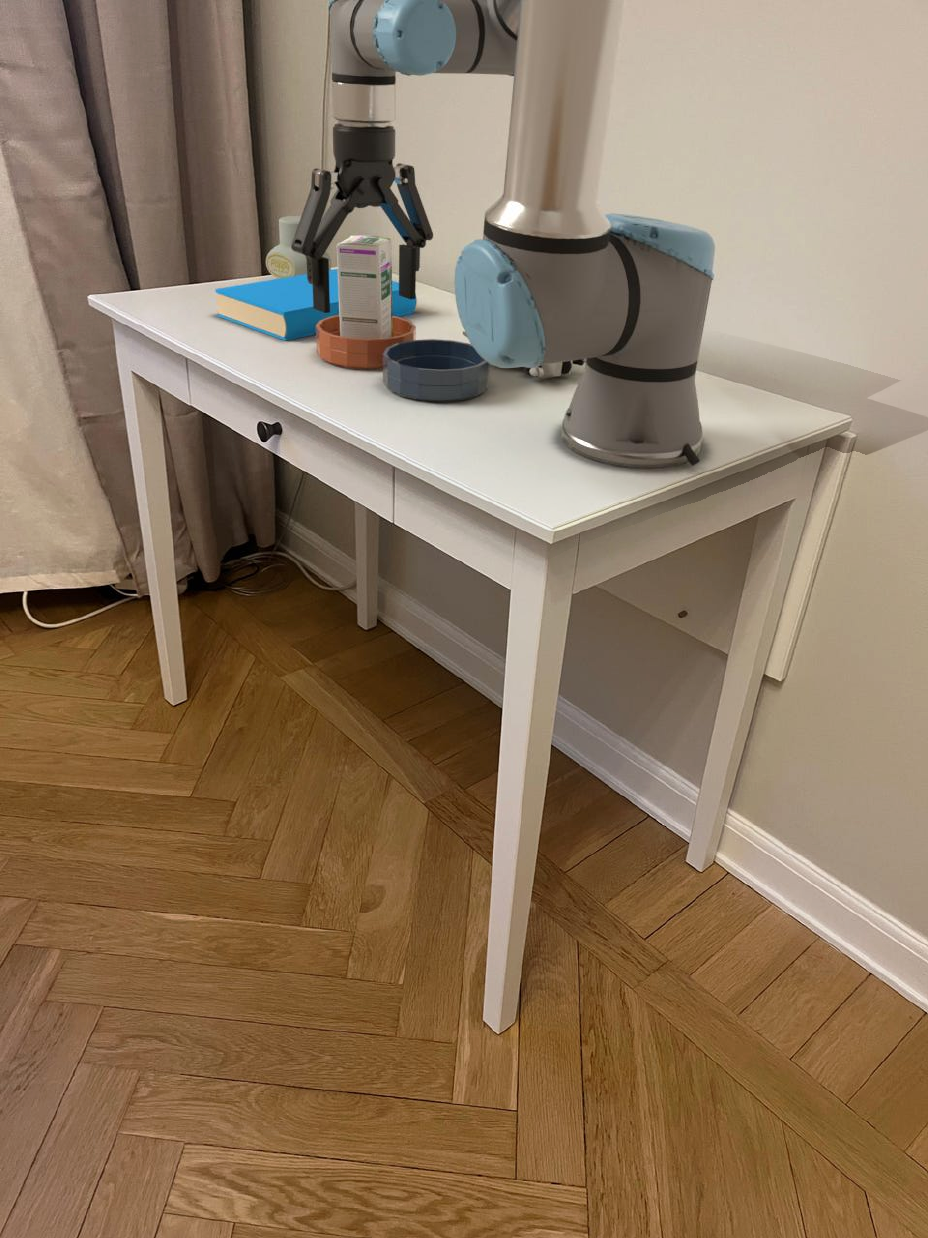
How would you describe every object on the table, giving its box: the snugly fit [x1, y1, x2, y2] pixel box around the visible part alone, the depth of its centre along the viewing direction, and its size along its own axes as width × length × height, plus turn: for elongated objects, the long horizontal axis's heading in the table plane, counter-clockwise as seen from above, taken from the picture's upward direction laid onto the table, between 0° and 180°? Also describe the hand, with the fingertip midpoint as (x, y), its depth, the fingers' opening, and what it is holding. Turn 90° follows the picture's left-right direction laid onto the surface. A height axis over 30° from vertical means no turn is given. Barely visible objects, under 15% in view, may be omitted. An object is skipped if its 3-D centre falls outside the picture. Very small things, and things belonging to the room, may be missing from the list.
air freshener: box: [265, 215, 332, 279], centre depth 165 cm, size 11×8×10 cm
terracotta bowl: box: [315, 315, 417, 370], centre depth 132 cm, size 13×13×4 cm
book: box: [215, 268, 418, 342], centre depth 148 cm, size 17×4×25 cm
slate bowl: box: [382, 338, 491, 403], centre depth 122 cm, size 13×13×4 cm
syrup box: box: [336, 234, 393, 339], centre depth 129 cm, size 6×6×14 cm
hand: (365, 303), depth 129 cm, fingers open, 13 cm apart
